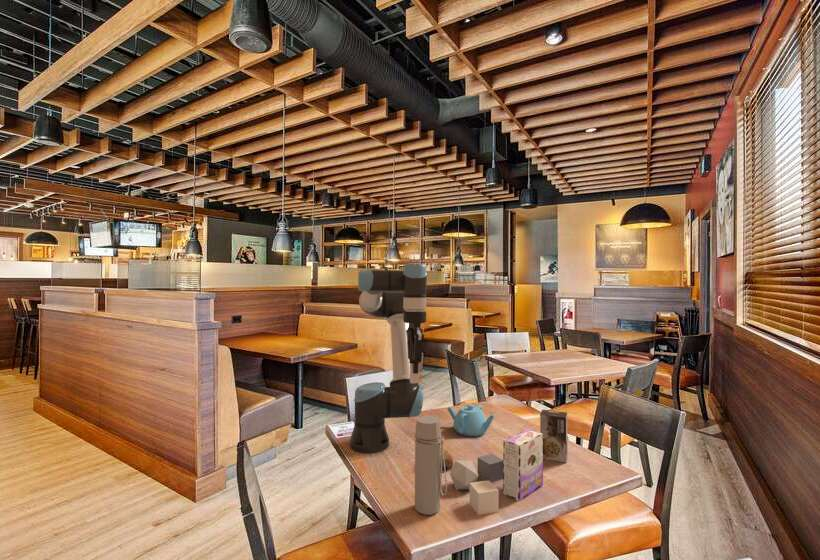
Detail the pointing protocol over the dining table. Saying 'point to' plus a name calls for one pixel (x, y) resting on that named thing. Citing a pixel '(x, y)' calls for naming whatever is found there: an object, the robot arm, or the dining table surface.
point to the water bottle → (428, 465)
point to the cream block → (484, 497)
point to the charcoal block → (490, 468)
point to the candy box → (522, 464)
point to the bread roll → (446, 461)
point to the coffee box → (554, 435)
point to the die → (463, 474)
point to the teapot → (470, 420)
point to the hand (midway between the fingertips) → (414, 382)
